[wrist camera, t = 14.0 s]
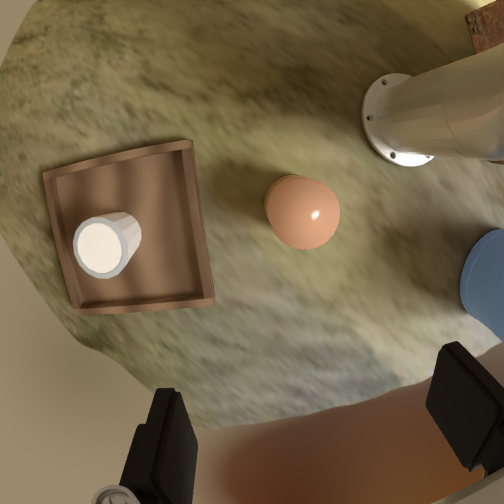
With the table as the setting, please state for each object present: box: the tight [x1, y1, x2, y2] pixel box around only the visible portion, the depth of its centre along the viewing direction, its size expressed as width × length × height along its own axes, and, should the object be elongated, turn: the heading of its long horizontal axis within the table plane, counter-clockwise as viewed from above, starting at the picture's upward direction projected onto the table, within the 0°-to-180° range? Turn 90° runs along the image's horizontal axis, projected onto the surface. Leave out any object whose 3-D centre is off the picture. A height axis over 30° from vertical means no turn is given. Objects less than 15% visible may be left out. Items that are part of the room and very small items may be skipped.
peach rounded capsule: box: [264, 175, 340, 250], centre depth 34 cm, size 7×7×8 cm
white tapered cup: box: [73, 212, 141, 279], centre depth 34 cm, size 7×7×7 cm
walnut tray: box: [43, 139, 215, 316], centre depth 37 cm, size 20×20×2 cm
